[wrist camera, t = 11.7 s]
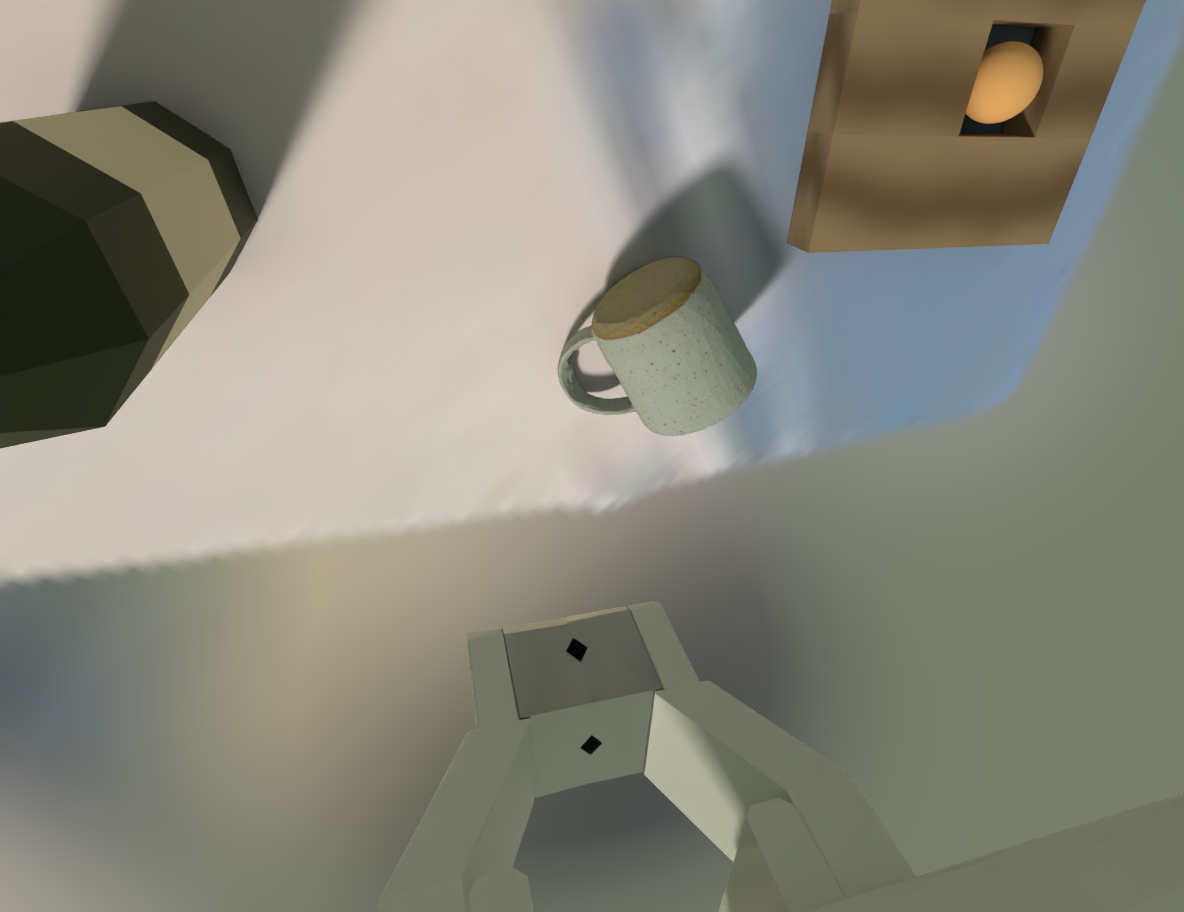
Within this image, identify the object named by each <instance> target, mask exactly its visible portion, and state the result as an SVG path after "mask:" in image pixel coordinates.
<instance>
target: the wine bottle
mask: <svg viewBox="0 0 1184 912" xmlns="http://www.w3.org/2000/svg"><path fill="white" fill-rule="evenodd" d="M257 220H258V219H257V217H256V214H255V212H254V209H253V206H252V204H251V201H250V199H249V196H248V194H247V191H246V189H245V186H244V183H243V181H242V178H241V176H240V173H239V171H238V168H237V166H236V163H235V161H234V158H233V155H232V153H231V150H230V149H229V148H227V147H226V146H224V145H223V144H221V143H219V142H218V141H216V140H215V139H213V138H212V137H210V136H208V135H207V134H205V133H204V132H202V131H201V130H199V129H197V128H196V127H194V126H193V125H191V124H190V123H188V122H186V121H185V120H183V119H182V118H180V117H179V116H177V115H175V114H174V113H172V112H171V111H169V110H168V109H166V108H164V107H163V106H161V105H160V104H158V103H157V102H147V103H140V104H132V105H125V106H117V107H110V108H102V109H95V110H87V111H80V112H73V113H65V114H58V115H51V116H44V117H36V118H29V119H22V120H15V121H7V122H0V448H4V447H9V446H14V445H19V444H24V443H28V442H33V441H38V440H43V439H48V438H52V437H57V436H62V435H67V434H72V433H76V432H81V431H86V430H91V429H96V428H100V427H105V426H106V425H107V424H108V422H109V421H110V420H111V419H112V417H113V416H114V415H115V414H116V412H117V411H118V410H119V409H120V407H121V406H122V405H123V404H124V403H125V401H126V400H127V399H128V398H129V396H130V395H131V394H132V393H133V391H134V390H135V389H136V388H137V387H138V385H139V384H140V383H141V382H142V380H143V379H144V378H145V377H146V375H147V374H148V373H149V372H150V370H151V369H152V368H153V367H154V366H155V364H156V363H157V362H158V361H159V359H160V358H161V357H162V356H163V354H164V353H165V352H166V351H167V350H168V348H169V347H170V346H171V345H172V343H173V342H174V341H175V340H176V338H177V337H178V336H179V335H180V333H181V332H182V331H183V330H184V329H185V327H186V326H187V325H188V324H189V322H190V321H191V320H192V319H193V317H194V316H195V315H196V314H197V313H198V311H199V310H200V309H201V308H202V306H203V305H204V304H205V303H206V301H207V300H208V299H209V298H210V296H211V295H212V294H213V293H214V292H215V290H216V289H217V288H218V287H219V285H220V284H221V283H222V282H223V280H224V279H225V278H226V277H227V275H228V274H229V273H230V271H231V269H232V267H233V265H234V264H235V262H236V260H237V258H238V256H239V254H240V252H241V250H242V248H243V247H244V245H245V243H246V241H247V239H248V237H249V235H250V233H251V231H252V229H253V228H254V226H255V224H256V222H257Z"/></svg>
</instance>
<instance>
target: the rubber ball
mask: <svg viewBox="0 0 1184 912" xmlns="http://www.w3.org/2000/svg"><path fill="white" fill-rule="evenodd" d="M1042 79H1043V63H1042V60H1041V57H1040V56H1039V54H1038V52H1037V51H1036V50H1035V49H1034V48H1032V47H1031V46H1029V45H1027V44H1025V43H1022V42H1016V41H1010V42H1003V43H1000V44H997V45H994V46H992V47H990V48H988V49H987V50H985V51H984V54H983V57H982V60H981V64H980V67H979V70H978V73H977V77H976V80H975V83H974V87H973V90H972V93H971V97H970V100H969V103H968V107H967V110H966V113H965V114H966V115H967V116H968V117H970V118H971V119H973V120H975V121H977V122H980V123H986V124H992V123H999V122H1003V121H1006V120H1008V119H1010V118H1012V117H1014V116H1016V115H1017V114H1019V113H1020V112H1021V111H1023V110H1024V109H1025V108H1026V107H1027V106H1028V105H1029V104H1030V103H1031V102H1032V100H1033V99H1034V98H1035V96H1036V94H1037V92H1038V91H1039V88H1040V86H1041V83H1042Z"/></svg>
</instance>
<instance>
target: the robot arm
mask: <svg viewBox="0 0 1184 912" xmlns="http://www.w3.org/2000/svg"><path fill="white" fill-rule="evenodd" d="M467 639H468V651H469V661H470V670H471V680H472V690H473V700H474V709H475V718H476V727H477V729H474V730H470V731H468V732H467V734H466V735H465V737H464V739H463V741H462V743H461V745H460V747H459V749H458V751H457V753H456V755H455V756H454V758H453V760H452V762H451V764H450V766H449V768H448V770H447V772H446V773H445V775H444V777H443V779H442V781H441V783H440V785H439V787H438V789H437V791H436V792H435V794H434V796H433V798H432V800H431V802H430V804H429V806H428V808H427V809H426V811H425V813H424V815H423V817H422V819H421V821H420V823H419V825H418V827H417V828H416V830H415V832H414V834H413V836H412V838H411V840H410V842H409V844H408V846H407V848H406V849H405V851H404V853H403V855H402V857H401V859H400V861H399V863H398V864H397V867H396V869H395V871H394V872H393V874H392V876H391V878H390V880H389V882H388V884H387V885H386V887H385V889H384V891H383V893H382V895H381V897H380V899H379V912H533V907H532V901H531V895H530V889H529V883H528V878H527V876H526V875H524V874H522V873H521V872H519V871H517V870H515V869H514V868H512V866H513V863H514V860H515V857H516V854H517V851H518V848H519V845H520V842H521V839H522V836H523V833H524V830H525V827H526V824H527V821H528V818H529V815H530V812H531V809H532V806H533V803H534V798H536V797H540V796H544V795H547V794H551V793H554V792H558V791H562V790H566V789H569V788H573V787H577V786H580V785H584V784H588V783H593V782H597V781H602V780H607V779H612V778H616V777H621V776H626V775H631V774H635V773H640V772H645V773H644V774H645V776H646V777H647V778H648V779H649V780H650V781H652V783H653V784H655V785H656V786H657V788H659V789H660V790H661V791H662V792H663V793H664V794H665V795H666V796H667V797H668V798H669V799H670V800H671V801H672V802H673V803H674V804H675V805H676V806H677V807H678V808H679V809H680V810H681V811H682V812H683V813H684V814H685V815H686V816H687V817H688V818H689V819H690V820H691V821H692V822H693V823H694V824H695V825H696V826H697V827H698V828H699V829H700V830H701V831H702V832H704V834H705V835H706V836H707V837H708V838H709V839H710V840H711V841H713V842H714V843H715V844H716V845H717V846H718V847H719V848H720V849H721V850H722V851H723V852H724V853H725V854H726V855H727V856H728V857H729V858H730V859H731V860H732V861H733V865H732V869H731V872H730V875H729V879H728V882H727V886H726V889H725V893H724V896H723V899H722V903H721V906H720V909H719V912H1184V792H1181V793H1178V794H1175V795H1171V796H1168V797H1165V798H1162V799H1159V800H1156V801H1152V802H1149V803H1146V804H1143V805H1140V806H1137V807H1133V808H1130V809H1127V810H1124V811H1121V812H1118V813H1114V814H1111V815H1108V816H1105V817H1102V818H1099V819H1096V820H1092V821H1089V822H1086V823H1083V824H1080V825H1076V826H1073V827H1070V828H1067V829H1064V830H1061V831H1058V832H1054V833H1051V834H1048V835H1045V836H1042V837H1039V838H1035V839H1032V840H1029V841H1026V842H1023V843H1020V844H1016V845H1013V846H1010V847H1007V848H1004V849H1000V850H997V851H994V852H991V853H988V854H985V855H981V856H978V857H975V858H972V859H969V860H966V861H963V862H959V863H956V864H953V865H950V866H947V867H944V868H941V869H937V870H934V871H931V872H928V873H925V874H922V875H918V876H916V875H915V873H914V872H913V870H912V869H911V867H910V866H909V864H908V862H907V861H906V859H905V858H904V856H903V855H902V853H901V852H900V850H899V848H898V847H897V846H896V844H895V842H894V841H893V839H892V838H891V836H890V835H889V833H888V831H887V830H886V828H885V827H884V825H883V824H882V822H881V821H880V819H879V817H878V816H877V814H876V813H875V811H874V810H873V808H872V807H871V805H870V803H869V802H868V800H867V799H866V797H865V796H864V794H863V793H862V791H861V790H860V788H859V787H858V785H857V783H856V782H855V780H854V779H853V777H852V776H851V775H849V774H848V773H846V772H845V771H843V770H842V769H840V768H839V767H837V766H836V765H834V764H833V763H831V762H830V761H828V760H827V759H825V758H824V757H822V756H821V755H819V754H818V753H816V752H815V751H813V750H812V749H810V748H809V747H807V746H806V745H804V744H803V743H801V742H800V741H798V740H797V739H796V738H794V737H792V736H791V735H790V734H788V733H787V732H785V731H784V730H782V729H781V728H779V727H778V726H776V725H774V724H773V723H772V722H770V721H769V720H767V719H766V718H764V717H763V716H761V715H760V714H758V713H757V712H755V711H754V710H752V709H751V708H749V707H748V706H746V705H745V704H743V703H742V702H740V701H739V700H737V699H736V698H734V697H733V696H731V695H730V694H728V693H727V692H725V691H724V690H722V689H721V688H719V687H718V686H716V685H714V684H713V683H712V682H710V681H704V682H699V680H698V678H697V676H696V674H695V672H694V670H693V668H692V666H691V664H690V662H689V660H688V658H687V656H686V654H685V652H684V650H683V648H682V646H681V644H680V642H679V640H678V638H677V636H676V634H675V632H674V630H673V628H672V626H671V624H670V622H669V620H668V618H667V616H666V614H665V612H664V610H663V608H662V606H661V605H660V604H659V603H658V602H656V601H653V602H648V603H643V604H637V605H631V606H626V607H619V608H614V609H608V610H603V611H597V612H593V613H587V614H581V615H576V616H570V617H566V618H563V619H557V620H550V621H543V622H536V623H530V624H524V625H516V626H510V627H502V630H501V629H493V630H486V631H480V632H473V633H468V638H467Z"/></svg>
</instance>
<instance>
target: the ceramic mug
mask: <svg viewBox="0 0 1184 912" xmlns="http://www.w3.org/2000/svg"><path fill="white" fill-rule="evenodd" d="M592 340H596V341H597V343H598V346H599V348H600V350H601V352H602V353H603V355H604V357H605V359H606V360H607V362H608V363H609V365H610V366H611V368H612V369H613V371H614V373H615V374H616V376H617V378H618V379H619V381H620V383H621V385H622V387H623V389H624V391H625V393H626V395H627V396H628V397H622V398H615V399H604V398H599V397H595V396H592V395H590V394H588V393H587V392H586V391H584V390H583V389H582V388H581V386H580V384H579V382H578V380H577V379H576V377H575V375H574V373H573V365H572V364H571V363H570V362H569V361H568V358H569V357H570V355H571V354H572V352H573V351H574V350H576V349H577V348H579V347H580V346H582V345H583V344H586V343H588V342H590V341H592ZM558 377H559V382H560V384H561V387H562V389H563V390H564V392H565V394H566V395H567V396H568V398H569V399H570V400H571V401H572V402H573V403H574V404H575V405H576V406H578V407H580V408H581V409H583V410H586V411H589V412H592V413H596V414H603V415H619V414H625V413H630V412H635V411H636V412H637V413H638V415H639V417H640V419H641V420H642V422H643V423H644V425H645V426H646V427H647V428H648V429H649V430H650V431H651V432H654V433H656V434H660V435H665V436H678V435H685V434H689V433H693V432H697V431H700V430H703V429H705V428H707V427H709V426H712V425H714V424H716V423H717V422H719V421H721V420H723V419H724V418H725V417H727V416H729V415H730V414H731V413H732V412H733V411H735V410H736V409H737V408H738V407H739V406H740V405H741V404H742V403H743V402H744V401H745V400H746V399H747V397H748V396H749V394H750V393H751V391H752V389H753V387H754V385H755V381H756V377H757V368H756V364H755V362H754V359H753V357H752V356H751V354H750V352H749V350H748V349H747V347H746V345H745V343H744V341H743V339H742V337H741V335H740V333H739V331H738V329H737V328H736V326H735V324H734V322H733V320H732V318H731V317H730V315H729V313H728V311H727V310H726V308H725V306H724V304H723V302H722V300H721V298H720V296H719V294H718V292H717V289H716V288H715V286H714V284H713V283H712V281H711V280H710V278H709V277H708V276H707V275H706V273H705V272H704V271H703V269H702V268H701V267H700V265H698V264H697V263H696V262H695V261H693V260H691V259H687V258H683V257H669V258H664V259H661V260H657V261H654V262H652V263H649V264H647V265H645V266H643V267H641V268H639V269H637V270H636V271H634V272H632V273H630V274H629V275H627V276H626V277H625V278H623V279H622V280H620V281H619V282H618V283H617V284H616V285H614V286H613V287H612V288H611V289H610V290H609V291H608V292H607V293H606V294H605V295H604V296H603V297H602V299H601V300H600V302H599V303H598V305H597V306H596V309H595V312H594V315H593V319H592V325H591V326H589V327H586V328H583V329H582V330H580V331H579V332H577V333H576V334H575V335H574V336H573V337H571V338H570V339H569V340H568V342H567V343H566V344H565V346H564V348H563V350H562V352H561V355H560V359H559V363H558Z"/></svg>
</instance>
